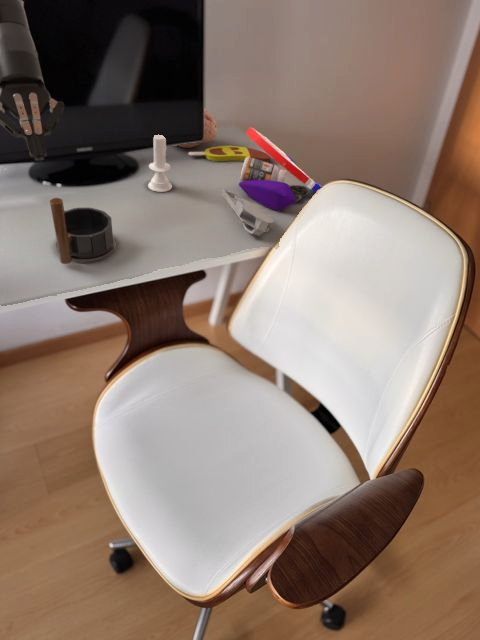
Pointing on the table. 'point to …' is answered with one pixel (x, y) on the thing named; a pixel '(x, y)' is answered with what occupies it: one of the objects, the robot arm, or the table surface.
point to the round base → (93, 259)
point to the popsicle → (232, 153)
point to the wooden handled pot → (81, 231)
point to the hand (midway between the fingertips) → (39, 158)
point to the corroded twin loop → (299, 191)
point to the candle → (159, 166)
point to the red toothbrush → (282, 158)
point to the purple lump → (269, 193)
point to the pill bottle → (261, 171)
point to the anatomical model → (205, 130)
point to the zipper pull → (249, 213)
